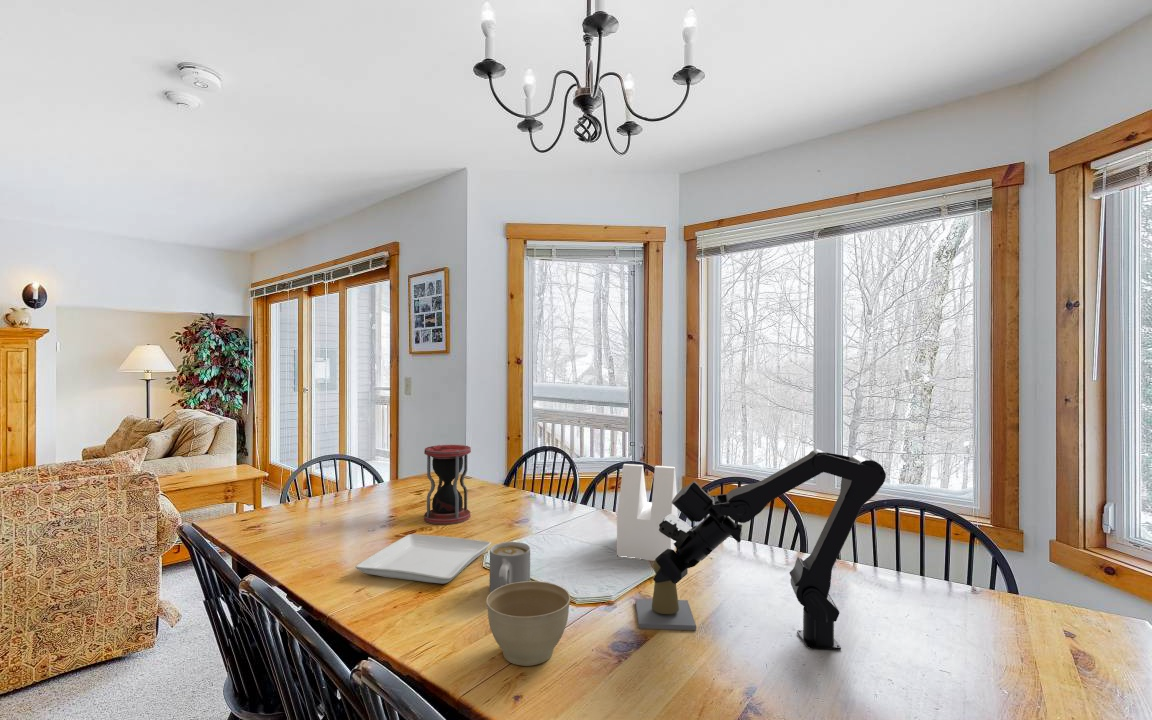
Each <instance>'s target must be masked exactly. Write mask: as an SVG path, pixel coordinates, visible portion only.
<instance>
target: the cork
mask: <svg viewBox="0 0 1152 720" xmlns="http://www.w3.org/2000/svg"><path fill="white" fill-rule="evenodd" d="M652 565H653V566H652V567H653V570H654V572H655V574H656V573H657V572H658V570H659V569H660V566H659V565H658V563H657V562H656V559H655V561H653V564H652ZM677 590H678V588H677V583H676V584H674V583H672V582H671V581H665V582H659V583H655V582H654V587H653V594H652V595H653V596H652V599H653V601H652V609H653V610H654V611H656V612H658V613H661V614H673V613H676V612H678V611H679V603H678V600H679V597H678V591H677Z"/></svg>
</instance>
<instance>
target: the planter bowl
mask: <svg viewBox="0 0 1152 720" xmlns="http://www.w3.org/2000/svg"><path fill="white" fill-rule="evenodd" d="M485 601H486V603H485V604H486V607H487V609H486V610H487V619H488V623H489V625H488V626H489V628H490V631H491V634H492V637H493V638H494V640H495V642H496V644H497V645H498V646H499V648H500V649H501V650H502V654H503V657H504V659H505V660H506V661H508V662H509V663H511V664H513V665H517V666H524V667H529V666H537V665H540V664H543V663H545V662H547V661H548V660H549V659H550V658H551V657H552V656H553V653H554V650H555V648H556V646H557V645H558V643H559V642H560V640H561V638H562V637H563V634H564V633H565V630H566V627H567V623H568V618H569V613H570V612H569V611H570V604H571V594H570V593H569V591H567V589H566V588H564V587H562V586H560V585H559V584H556V583H550V582H546V581H536V580H533V581H531V580H530V581H525V582H516V583H511V584H507V585H504V586H501V587H499V588H497V589H495V590H494V591H492V592H491V593H490V592H489V594H488V595H487V597H486V600H485Z"/></svg>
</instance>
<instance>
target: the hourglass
mask: <svg viewBox="0 0 1152 720" xmlns="http://www.w3.org/2000/svg"><path fill="white" fill-rule="evenodd" d="M471 448H472V447H471V446H468V445H463V444H441V445H440V444H438V445H433V446H427V447H425V448H424V455H426V460H427V462H426V476H427V478H428V480H429V481H430V484H431V485H430V490H429V491H428V492H427V496H426V512H425V513H424V514H423V520H424V522H425V523H428V524H432V525H453V524H459V523H464V522H466V521H468V520H469V519H470V518H471V511H470V510H469V509H468V489H467V486H466V485H465V482H464V480H465V477H466V474H467V473H468V455H469V454H471V453H472V451H471V450H472V449H471ZM431 458H432V460H431ZM431 461H432V464H431ZM431 465H432V466H431ZM431 467H432V470H433V471H434V474H435V475H436V476H437V477H438V485H437V489H436V492H435V493H434V496H433V497H432V503H431V496H432V493H433V492H434V491H435V487H436V482H435V480H434V479H433V478H432V476H431V475H432V474H431ZM461 471H463V472H462V474H461V475H460V473H461ZM459 475H460V477H459ZM458 481H459V483H460V486H461V487H462V489H463V496H464V497H463V496H462V494H461V492H460V491H459V490H458ZM452 482H453V483H452ZM431 508H432V509H431Z"/></svg>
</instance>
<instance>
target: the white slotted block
mask: <svg viewBox="0 0 1152 720" xmlns="http://www.w3.org/2000/svg"><path fill="white" fill-rule="evenodd" d="M644 469H645V468H644V464H636V463H624V464H623V465H622V472H621V480H620V488H619V489H620V490H619V497H618V506H617V514H616V515H617V516H616V556H617V555H618V556H627V557H635V558H641V559H646V560H645V561H651V562H654V561H655V559H656V558H657V557H658V556H659V555H660V554H661V553H663V552H664V551H665V550H667V549H672V550H674V551H676V550H675V549H676V547H675V545H674V543H675V542H676V541H674V540H673V539H671V538H668V537H667V536H665V535H664V534H662V533H661V532H660V531H659V528H660V526H659V524H660V523H662V521H663V519H664V517H666V516H667V515H669V514H673V515H675V516H677V517H678V509H677V508H676V507H675V506H674V505H673V504H672V500H673V499H674V497H675V496H676V495H677V494H678V492H677V476H676V475H677V473H676V467H675V466H668V465H667V466H665V465H655V466H654V471H653V472H654V474H653V483H652V484H653V486H652V497H651V498H652V499H651V501H648V499H647V491H646V490H647V489H646V480H645V472H644ZM641 559H640V560H641Z"/></svg>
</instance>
